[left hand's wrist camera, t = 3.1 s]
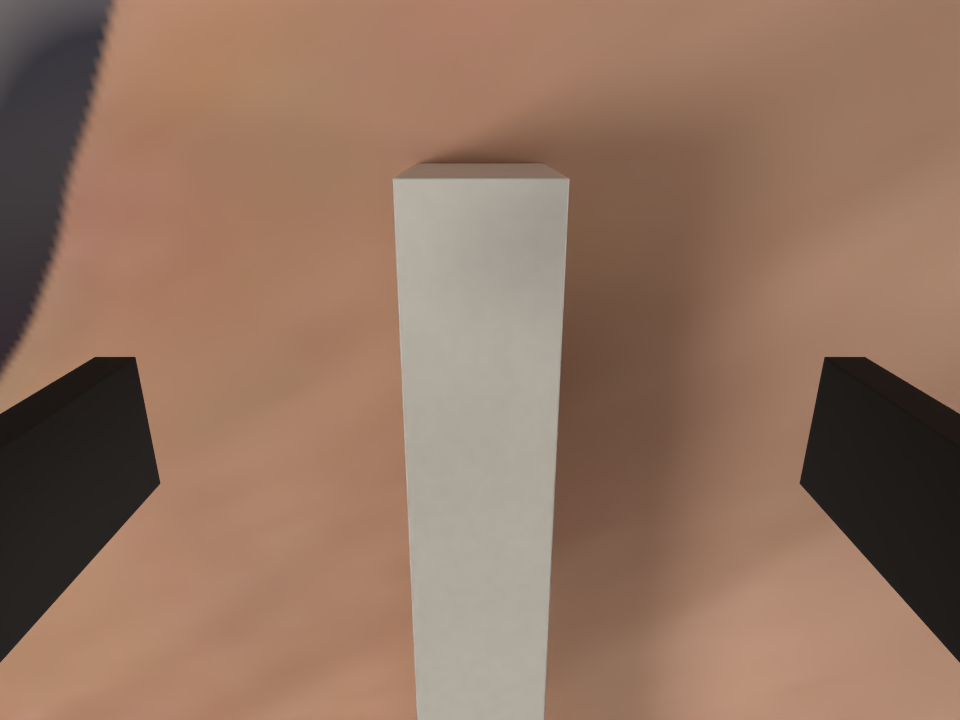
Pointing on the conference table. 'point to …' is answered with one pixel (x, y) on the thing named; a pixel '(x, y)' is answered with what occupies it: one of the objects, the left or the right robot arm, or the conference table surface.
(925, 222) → the conference table surface
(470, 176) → the bar
